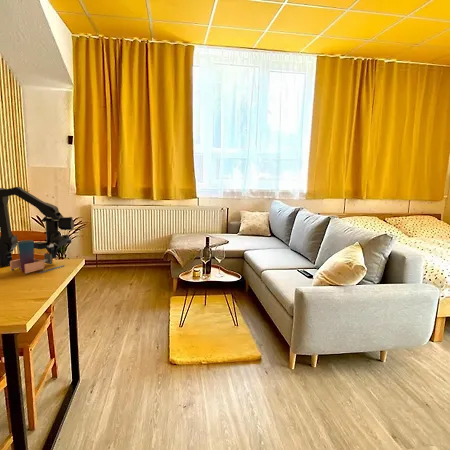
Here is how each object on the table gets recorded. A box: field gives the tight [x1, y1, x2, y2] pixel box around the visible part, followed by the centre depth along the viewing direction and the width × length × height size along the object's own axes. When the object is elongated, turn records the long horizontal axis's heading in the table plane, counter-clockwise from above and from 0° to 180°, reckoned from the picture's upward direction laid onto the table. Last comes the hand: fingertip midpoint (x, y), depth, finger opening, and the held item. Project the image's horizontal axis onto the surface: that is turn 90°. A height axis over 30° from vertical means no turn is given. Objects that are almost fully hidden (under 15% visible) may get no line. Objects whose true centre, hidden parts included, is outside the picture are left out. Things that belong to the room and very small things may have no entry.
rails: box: [19, 264, 66, 274], centre depth 170 cm, size 16×14×1 cm
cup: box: [17, 239, 35, 274], centre depth 162 cm, size 7×7×15 cm
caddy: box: [9, 252, 53, 275], centre depth 166 cm, size 17×12×6 cm
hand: (53, 258), depth 176 cm, fingers closed
